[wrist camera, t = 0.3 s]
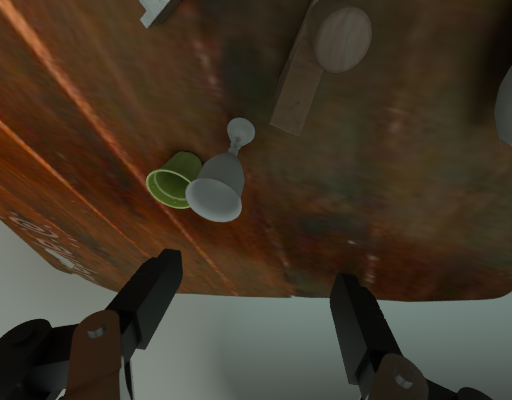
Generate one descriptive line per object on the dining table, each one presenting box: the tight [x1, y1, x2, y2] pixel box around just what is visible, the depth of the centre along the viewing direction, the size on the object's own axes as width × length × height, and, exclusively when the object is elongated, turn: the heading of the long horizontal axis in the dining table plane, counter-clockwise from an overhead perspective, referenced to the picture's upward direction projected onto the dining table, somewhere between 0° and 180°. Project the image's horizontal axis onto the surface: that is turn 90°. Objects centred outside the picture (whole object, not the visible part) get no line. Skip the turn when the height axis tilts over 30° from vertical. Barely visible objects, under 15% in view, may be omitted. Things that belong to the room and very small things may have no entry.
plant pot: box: [146, 151, 202, 208], centre depth 42 cm, size 9×9×9 cm
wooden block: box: [269, 0, 372, 137], centre depth 23 cm, size 4×11×18 cm, turn 159°
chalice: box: [185, 118, 255, 222], centre depth 32 cm, size 7×7×18 cm
